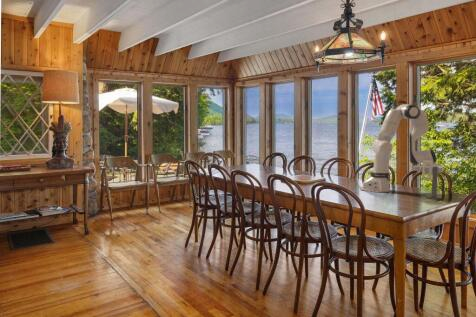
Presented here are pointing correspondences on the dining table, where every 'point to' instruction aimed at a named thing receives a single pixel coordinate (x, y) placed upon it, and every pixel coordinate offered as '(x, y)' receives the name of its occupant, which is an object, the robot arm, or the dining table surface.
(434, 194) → the stand
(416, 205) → the dining table surface
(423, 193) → the mat
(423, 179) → the link
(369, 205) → the dining table surface
